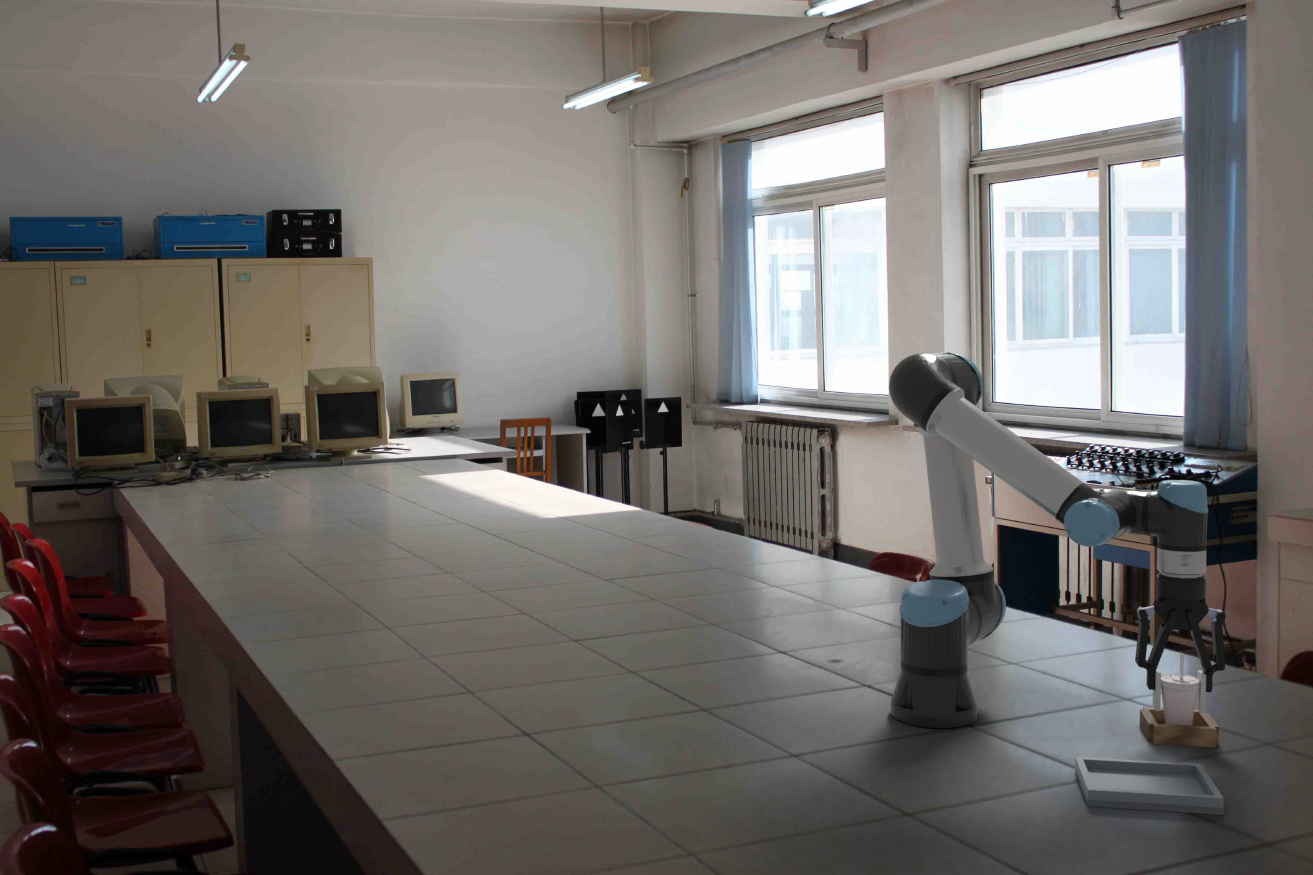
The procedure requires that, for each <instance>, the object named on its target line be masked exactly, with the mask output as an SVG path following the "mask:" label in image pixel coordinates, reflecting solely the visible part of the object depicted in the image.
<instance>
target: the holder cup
mask: <svg viewBox="0 0 1313 875" xmlns="http://www.w3.org/2000/svg"><path fill="white" fill-rule="evenodd" d="M1215 721H1216V720H1214V718H1213V717H1212V716H1211V715H1210V714H1209V712H1208V711H1205V713H1200V712H1199V710H1198V709H1197V708H1196V709H1194V715H1193V722H1192V726H1190V725H1170V724H1165V718H1164V709H1163V707H1161V709H1160V711H1155V709H1154V707H1153V706H1152V707H1151V706H1142V708H1140V709H1139V728H1140V729H1141V731H1142V732H1143V734H1144V736H1145V737H1146V740H1147V741H1148V742H1153V744H1154V745H1161V746H1162V745H1165V746H1168V745H1169V746H1181V747H1182V746H1186V747H1199V748H1200V747H1201V748H1217V746H1219V744H1220V743H1219V742H1220V740H1219V738H1220V727H1219V725H1218V724H1217V723H1216V722H1215Z"/></svg>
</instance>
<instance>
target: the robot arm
mask: <svg viewBox="0 0 1313 875" xmlns="http://www.w3.org/2000/svg"><path fill="white" fill-rule="evenodd" d="M888 390H889V396H890V399H891V402H892V403H893V405H894V407H895V408H896V409H897V410H898V411H899V412H900V413H901V414H902V415H903V416H905V417H906V418H907V419H909V420H910V421H911V422H912V423H913V427H914V429H915V431H917V432H918V433H919V434H921V435H922V437H923V444H924V452H925V464H926V473H927V481H928V494H929V502H930V503H929V504H930V510H931V520H932V529H933V530H932V531H933V538H934V550H935V558H936V562H935V565H934V566H933V567H932V569H931V570H930V571H929V579H928V580H925V581H922V580H921V581H917V582H914V583H911V584H909V585H907V586H906V587H905V588H904V589H903V591H902V593H901V595H900V605H899V614H900V617H899V618H900V619H899V620H900V671H899V675H898V678H897V681H896V683H895V687H894V690H893V693H892V695H891V698H890V715H891V717H893V719H895V720H897V721H899V722H901V723H905V724H907V725H910V726H916V727H924V728H931V729H933V728H934V729H944V728H945V729H949V728H959V727H964V726H969V725H972V724H974V722H976V721H977V720H978V703H977V699H976V697H975V694H974V691H973V687H972V684H971V682H970V678H969V674H968V661H969V660H968V659H969V658H968V657H969V656H968V654H969V653H968V648H969V647H968V646H970V645H973V644H974V643H977V642H978V641H981V640H984V639H986V638H988V637H989V636H991V635H992V634H993V633H994V632H995V631H996V630H997V629H998V628H999V626H1000V625H1001V624H1002V622H1003V620H1004V618H1005V615H1006V611H1007V603H1006V602H1007V601H1006V597H1005V594H1004V592H1003V589H1002V588H1001V586H1000V585H998V584H997V582H996V580H995V573H994V572H995V571H994V567H993V566H992V565H990V564H989V563H988V562H987V561H986V560H985V559H984V548H983V541H982V540H983V538H982V529H981V519H980V511H979V510H980V508H979V500H978V492H977V491H978V490H977V482H976V472H975V464H974V463H975V462H974V461H976V462H977V463H978V464H979V465H981V466H982V467H984V468H985V469H987V470H988V471H989V472H991V473H992V474H993V475H995V477H998V478H999V479H1000V480H1002V481H1003V482H1004V483H1006V484H1007V485H1009V487H1011V488H1012V489H1014V490H1015V491H1017V492H1018V493H1020V494H1021V495H1022V496H1023V497H1025V499H1026V498H1027V499H1028V500H1029V501H1030V502H1031V503H1033V504H1034V505H1036V506H1037V507H1039V508H1040V509H1042V510H1043V511H1044V512H1045V513H1047V514H1048V515H1049V516H1051V517H1052V518H1053V519H1055V520H1056V521H1058V522H1059V523H1060V524H1062V525H1063V528H1064V530H1065V532H1066V533H1065V534H1067V536H1068V537H1069V539H1070V540H1071V541H1073V542H1074V543H1075V544H1077V545H1079V546H1082V547H1087V548H1089V547H1090V548H1091V547H1097V546H1103V545H1104V546H1105V544H1108V543H1110V542H1111V541H1113V540H1114V539H1117V538H1120V537H1122V536H1124V535H1134V536H1135V535H1136V536H1148V537H1156V538H1157V544H1156V547H1157V549H1156V550H1157V551H1156V553H1157V554H1156V556H1157V557H1156V570H1157V571H1158V572H1159V573H1158V574H1156V597H1155V601H1154V602H1153V604H1152V605H1150V606H1146V607H1143V606H1138V607H1137V608H1136V614H1137V617H1138V629H1137V637H1136V649H1135V657H1134V659H1135V660H1134V661H1135V663H1136V665H1137V667H1138V668H1141V669H1142V668H1143V669H1145V670H1146V687H1147V688H1148V690H1150V691H1152V707H1154V709H1155V711H1160V709H1161V708H1162V707H1161V706H1162V705H1161V703H1162V702H1161V701H1162V692H1161V675H1162V672H1161V671H1160V669H1159V668H1158V666H1159V664H1160V661H1161V659H1162V656H1163V653H1164V650H1165V648H1166V646H1167V643H1168V640H1169V637H1170V636H1171V635H1172V632H1173V631H1174V630H1175V631H1176V630H1177V631H1178V630H1185V631H1189V632H1190V635H1191V638H1192V640H1193V644H1194V647H1195V650H1196V653H1197V655H1198V658H1199V662H1200V664H1201V668H1202V669H1201V670H1200V669H1199V670H1198V669H1197V671H1196V672H1197V673H1196V674H1197V677H1196V678H1197V679H1199V681H1200V687H1199V688H1198V690H1197V697H1196V709H1198V710H1199V712H1200V713H1205V712H1206V700H1207V698H1206V697H1207V695H1206V694H1207V693H1212V690H1213V679H1214V677H1213V675H1214V674H1215V673H1216V672H1219V671H1221V672H1223V671H1225V669H1226V661H1225V658H1226V657H1225V644H1224V631H1223V630H1224V629H1223V628H1224V627H1223V626H1224V623H1225V619H1226V618H1227V616H1226V613H1225V612H1224V611H1223V610H1222V609H1220V608H1217V609H1215V608H1211V607H1209V605H1208V604H1207V600H1206V598H1207V597H1206V596H1207V578H1206V577H1205V576H1204V574H1206V572H1207V537H1208V536H1207V535H1208V517H1209V516H1208V514H1209V508H1208V495H1207V493H1208V491H1207V487H1206V485H1205V484H1204V483H1202V482H1200V481H1198V480H1197V481H1196V480H1195V481H1194V480H1186V479H1185V480H1184V479H1181V480H1178V479H1167V480H1162V481H1160V482H1159V483H1158V487H1157V489H1156V491H1146V490H1144V491H1143V490H1129V489H1117V488H1116V489H1115V488H1110V487H1106V488H1092V487H1090V486H1089V485H1088V484H1086V483H1085V482H1083V480H1081V479H1079V478H1078V477H1076V476H1075V475H1074V474H1072V473H1071V472H1070V471H1068V470H1067V469H1065V468H1064V467H1062V466H1061V465H1060V464H1058V463H1057V462H1055V461H1054V460H1053V459H1051V458H1050V457H1048V456H1047V455H1045V454H1044V453H1043V452H1041V451H1040V450H1038V448H1036V447H1034V446H1033V445H1031V443H1028V442H1027V441H1026V440H1025V439H1023V438H1021V437H1020V436H1018V435H1017V434H1016V433H1015V432H1013V431H1012V430H1010V429H1008V428H1007V427H1006V426H1004V425H1003V424H1002V423H1000V422H999V421H997V420H996V419H995V418H993V416H990V415H989V414H988V413H986V412H985V411H983V410H982V409H980V408H979V407H977V405H978V404H979V401H980V400H981V399H982V396H983V392H984V380H983V377H982V374H981V371H980V369H979V368H978V367H977V365H976V364H975V363H974V362H973V361H972V360H971V359H970V358H968V357H966V356H964V355H961V354H959V353H955V352H934V353H933V352H932V353H915V354H912V355H908V356H906V357H905V358H903V359H902V360H901V361H899V362H898V363H897V364H896V366H894V369H892V372H891V374H890V377H889V382H888ZM1155 613H1156V615H1157V616H1158V617H1159V620H1160V621H1161V622H1160V624H1159V627H1158V628H1159V629H1158V632H1157V633H1156V634H1157V635H1156V636H1155V640H1154V643H1153V645H1152V648H1151V651H1150V653H1149V655H1148V658H1147V652H1148V651H1147V650H1148V641H1149V640H1148V639H1149V634H1150V632H1149V631H1150V630H1149V629H1150V621H1151V620H1152V619H1153V614H1155ZM1207 615H1208V620H1209V621H1210V623H1211V625H1210V626H1211V627H1210V628H1211V641H1212V654H1213V657H1212V658H1213V661H1212V662H1211V659H1210V656H1209V654H1208V650H1207V647H1206V643H1205V641H1204V639H1203V635H1202V631H1201V628H1200V625H1199V624H1200V623H1201V622H1202V621H1203V619H1205V617H1206V616H1207Z"/></svg>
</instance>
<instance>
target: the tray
mask: <svg viewBox="0 0 1313 875" xmlns="http://www.w3.org/2000/svg"><path fill="white" fill-rule="evenodd" d="M1074 760H1075V762H1074V764H1075V765H1074V767H1075V769H1074V770H1075V772H1074V773H1075V776H1076V778H1077V781H1078V784H1079V786H1080V790H1081V792H1082V794H1083V796H1084V797H1083V798H1084V800H1085V803H1086V806H1087V807H1093V808H1109V809H1110V808H1111V809H1126V810H1141V811H1157V812H1168V813H1169V812H1171V813H1187V814H1203V815H1217V816H1224V814H1225V813H1224V812H1225V811H1224V810H1225V809H1224V808H1225V807H1224V805H1225V797H1224V796H1223V795H1222V793H1221V791H1220V790H1219V789H1218V787H1217V785H1215V783H1214V781H1213V780H1212V778H1211V777H1210V776H1209V774H1208V773H1207V771H1206V769H1205V768H1204V766H1203V765H1202V764H1201V763H1192V762H1176V761H1175V762H1173V761H1157V760H1155V761H1154V760H1143V759H1142V760H1140V759H1139V760H1136V759H1123V758H1122V759H1120V758H1102V757H1087V756H1086V757H1085V756H1075V758H1074Z"/></svg>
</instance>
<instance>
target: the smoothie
mask: <svg viewBox="0 0 1313 875" xmlns="http://www.w3.org/2000/svg"><path fill="white" fill-rule="evenodd" d="M1184 658H1185V654H1184V653H1180V654H1179V673H1166V674H1161V701H1162V708H1163V709H1164V718H1165V724H1170V725H1190V726H1192V722H1193V715H1194V709H1195V707H1196V704H1197V690H1198V688H1199V687H1200V681H1199V679H1197V677H1195V676H1192V675H1188V674H1184V669H1185V667H1184V666H1185V665H1184V664H1185V663H1184V662H1185V659H1184Z"/></svg>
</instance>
